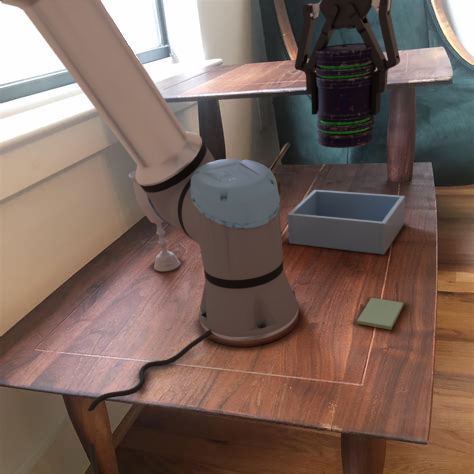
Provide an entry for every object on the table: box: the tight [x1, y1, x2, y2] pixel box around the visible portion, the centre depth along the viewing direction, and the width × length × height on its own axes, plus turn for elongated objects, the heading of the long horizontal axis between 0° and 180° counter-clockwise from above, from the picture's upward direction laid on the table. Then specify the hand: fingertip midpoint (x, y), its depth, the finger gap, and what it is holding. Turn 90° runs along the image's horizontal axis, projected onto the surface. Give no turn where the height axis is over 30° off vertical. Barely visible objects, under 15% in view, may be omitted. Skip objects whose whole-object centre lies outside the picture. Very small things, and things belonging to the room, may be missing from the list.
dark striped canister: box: [315, 42, 377, 149], centre depth 93 cm, size 10×10×15 cm
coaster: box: [356, 297, 404, 331], centre depth 81 cm, size 7×5×1 cm
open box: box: [286, 189, 406, 256], centre depth 106 cm, size 14×19×6 cm
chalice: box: [128, 169, 181, 272], centre depth 99 cm, size 7×7×18 cm
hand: (345, 112), depth 94 cm, fingers closed on dark striped canister, 10 cm apart
